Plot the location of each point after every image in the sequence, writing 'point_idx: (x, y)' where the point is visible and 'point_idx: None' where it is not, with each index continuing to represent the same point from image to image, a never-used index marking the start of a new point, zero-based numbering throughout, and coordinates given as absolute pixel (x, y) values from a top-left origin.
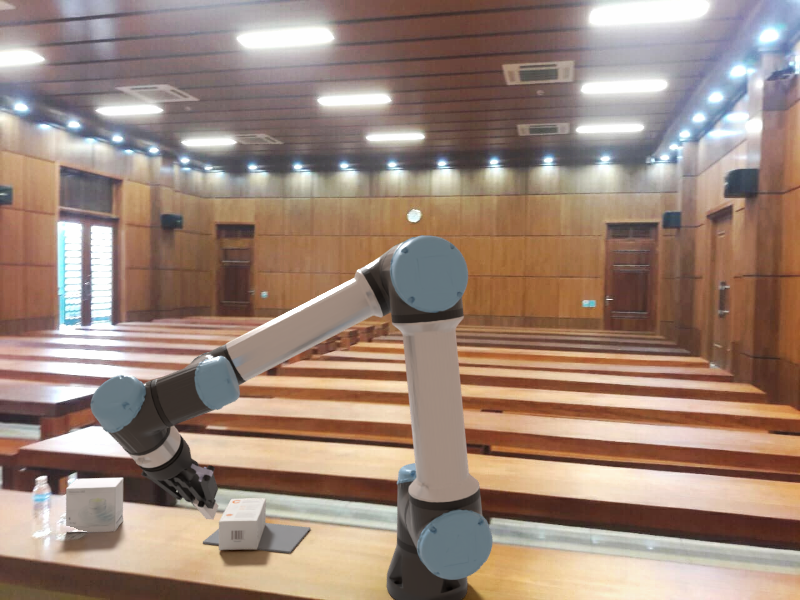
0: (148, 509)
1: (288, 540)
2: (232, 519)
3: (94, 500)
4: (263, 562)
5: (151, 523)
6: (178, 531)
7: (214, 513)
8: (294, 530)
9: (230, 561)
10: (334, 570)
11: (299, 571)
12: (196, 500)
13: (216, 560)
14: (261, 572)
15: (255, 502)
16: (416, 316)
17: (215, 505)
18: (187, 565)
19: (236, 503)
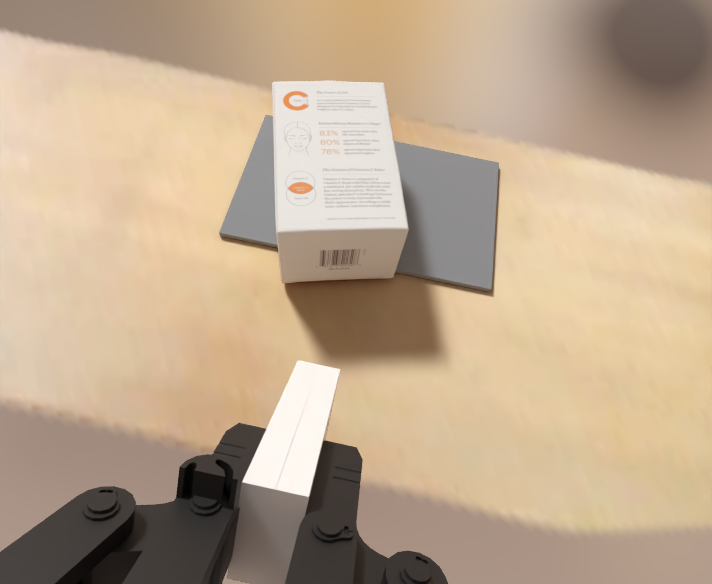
0: (15, 52)
1: (465, 229)
2: (321, 220)
3: None
4: (431, 342)
5: (39, 123)
6: (130, 168)
7: (329, 419)
8: (462, 176)
9: (332, 338)
10: (648, 386)
11: (553, 394)
12: (250, 560)
13: (288, 332)
14: (445, 402)
15: (360, 108)
16: None
17: (333, 398)
18: (205, 363)
19: (300, 112)
